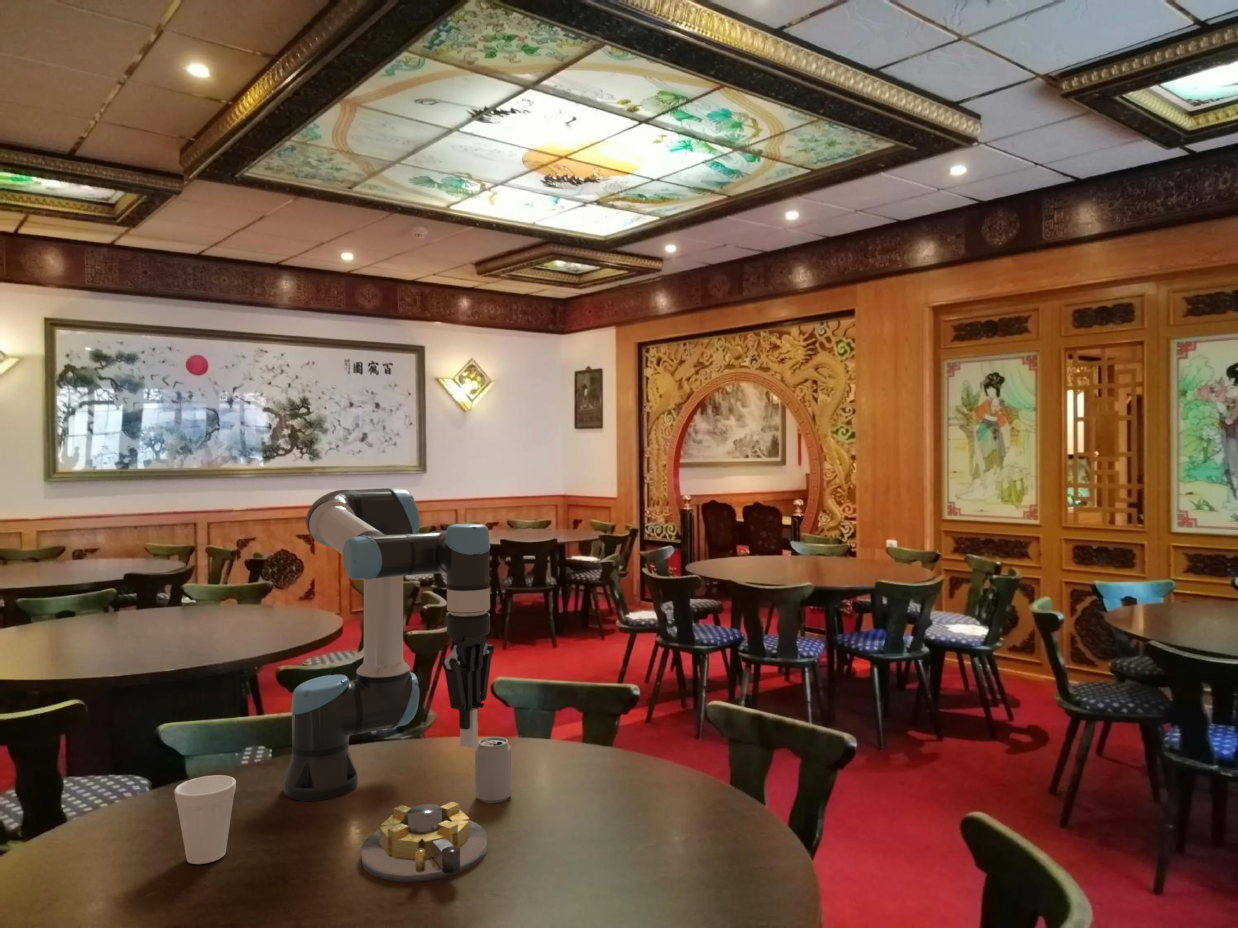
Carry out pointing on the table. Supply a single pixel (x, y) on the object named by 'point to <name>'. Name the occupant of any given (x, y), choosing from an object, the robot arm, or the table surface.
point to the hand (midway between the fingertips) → (469, 745)
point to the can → (493, 770)
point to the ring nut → (427, 837)
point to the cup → (205, 816)
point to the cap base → (409, 865)
